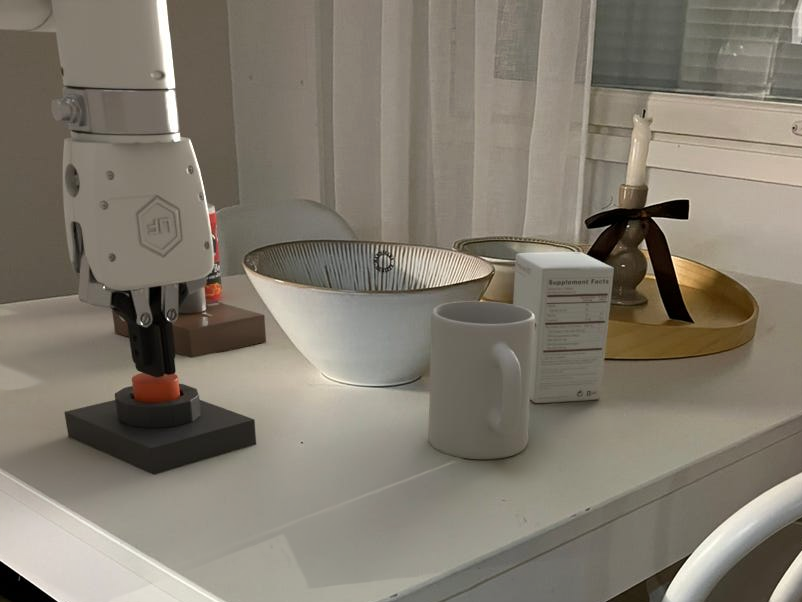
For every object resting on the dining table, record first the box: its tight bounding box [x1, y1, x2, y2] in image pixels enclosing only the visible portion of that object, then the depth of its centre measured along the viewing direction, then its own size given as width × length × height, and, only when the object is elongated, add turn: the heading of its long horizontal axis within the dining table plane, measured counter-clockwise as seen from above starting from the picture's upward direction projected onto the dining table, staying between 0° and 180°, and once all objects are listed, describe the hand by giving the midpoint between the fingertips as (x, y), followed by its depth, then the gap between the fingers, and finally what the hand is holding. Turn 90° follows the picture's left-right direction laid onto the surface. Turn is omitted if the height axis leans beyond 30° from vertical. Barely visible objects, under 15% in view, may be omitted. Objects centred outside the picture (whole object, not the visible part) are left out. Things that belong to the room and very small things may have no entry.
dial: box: [178, 288, 206, 314], centre depth 111 cm, size 4×4×6 cm
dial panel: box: [111, 299, 267, 359], centre depth 113 cm, size 14×10×3 cm
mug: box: [427, 300, 535, 460], centre depth 84 cm, size 12×8×11 cm
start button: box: [131, 372, 180, 402], centre depth 83 cm, size 4×4×2 cm
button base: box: [63, 383, 257, 475], centre depth 84 cm, size 12×10×4 cm
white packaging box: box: [512, 251, 615, 404], centre depth 99 cm, size 7×7×13 cm
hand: (155, 371), depth 82 cm, fingers closed
